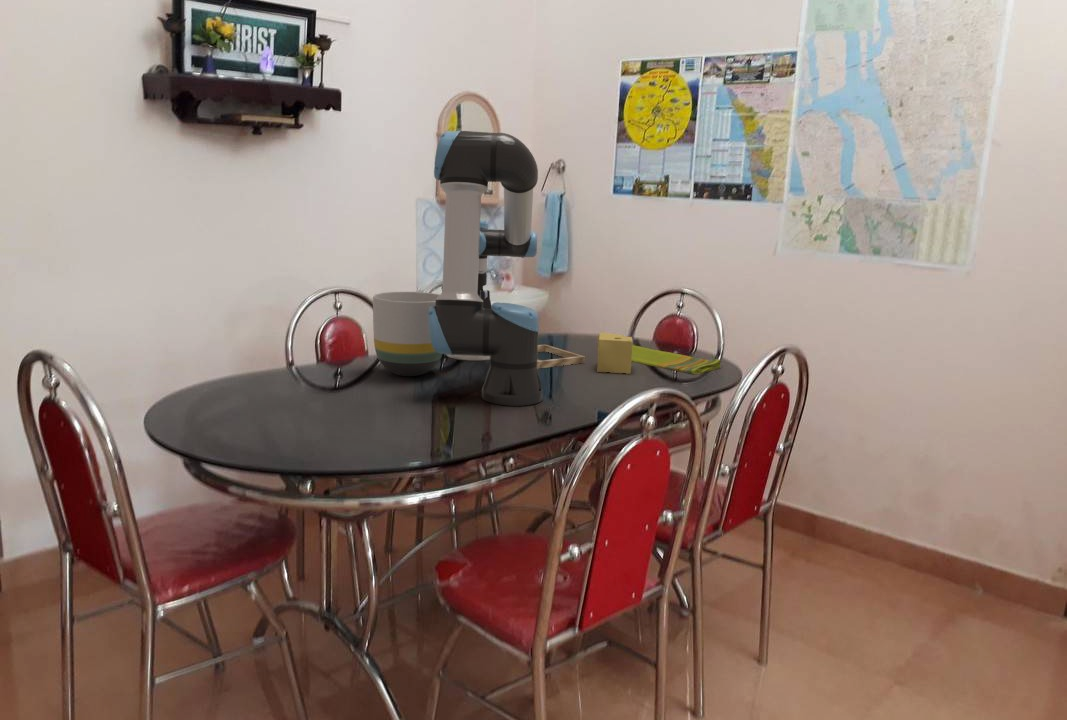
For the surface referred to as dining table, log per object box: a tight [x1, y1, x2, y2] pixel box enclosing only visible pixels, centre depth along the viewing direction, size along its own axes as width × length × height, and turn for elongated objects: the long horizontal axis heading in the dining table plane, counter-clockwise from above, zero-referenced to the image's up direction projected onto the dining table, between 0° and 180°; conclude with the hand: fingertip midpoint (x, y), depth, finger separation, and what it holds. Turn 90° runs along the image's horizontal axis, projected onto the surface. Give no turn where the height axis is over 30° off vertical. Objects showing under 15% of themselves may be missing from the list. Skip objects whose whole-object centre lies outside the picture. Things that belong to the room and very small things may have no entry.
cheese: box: [596, 332, 634, 375], centre depth 244 cm, size 10×11×10 cm
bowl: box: [445, 354, 490, 362], centre depth 256 cm, size 16×16×3 cm
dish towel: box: [632, 344, 722, 376], centre depth 259 cm, size 15×36×3 cm, turn 49°
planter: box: [372, 291, 443, 377], centre depth 226 cm, size 20×20×21 cm
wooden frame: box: [537, 344, 586, 370], centre depth 254 cm, size 18×20×2 cm
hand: (472, 341), depth 255 cm, fingers open, 13 cm apart
